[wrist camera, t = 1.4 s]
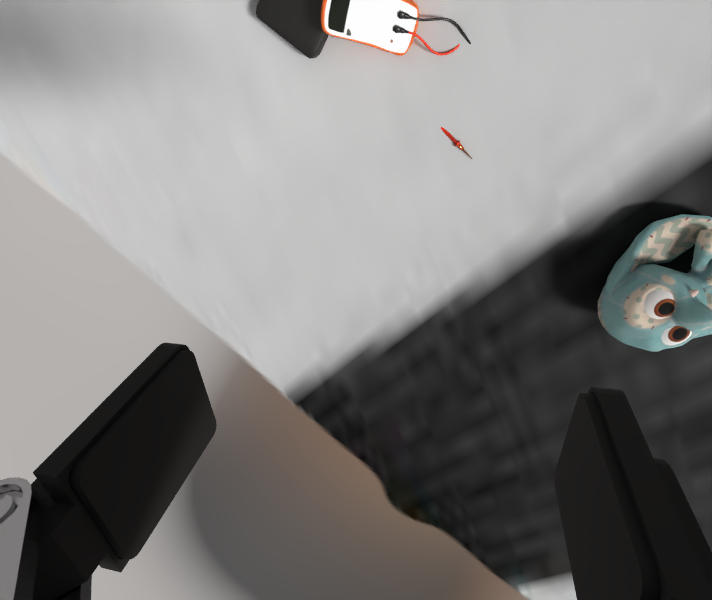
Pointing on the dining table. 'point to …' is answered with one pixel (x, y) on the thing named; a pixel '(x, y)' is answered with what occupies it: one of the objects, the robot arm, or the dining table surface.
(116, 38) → the dining table surface
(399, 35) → the multimeter
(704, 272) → the stuffed animal
